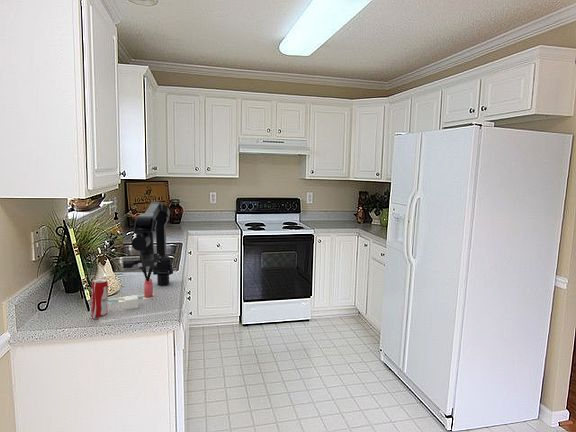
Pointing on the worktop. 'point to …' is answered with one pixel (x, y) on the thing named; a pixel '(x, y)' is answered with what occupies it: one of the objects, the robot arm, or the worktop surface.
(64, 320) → the worktop surface
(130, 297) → the die
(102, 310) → the beverage can
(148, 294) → the red cylinder
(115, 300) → the board
